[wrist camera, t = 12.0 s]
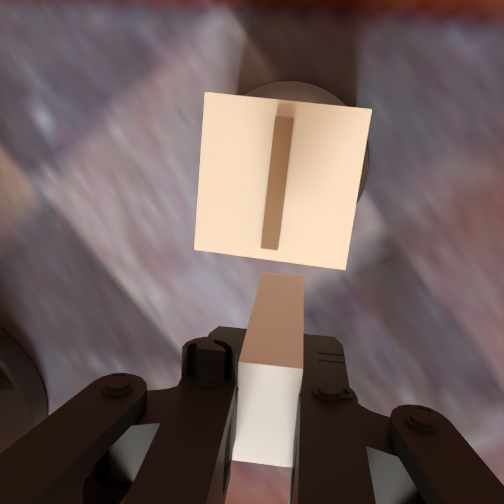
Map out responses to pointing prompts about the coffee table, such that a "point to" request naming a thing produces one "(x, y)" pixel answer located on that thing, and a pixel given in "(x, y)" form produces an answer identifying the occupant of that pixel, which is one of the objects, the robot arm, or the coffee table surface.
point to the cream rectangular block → (279, 179)
